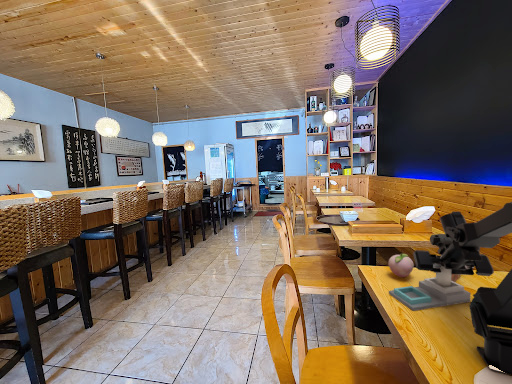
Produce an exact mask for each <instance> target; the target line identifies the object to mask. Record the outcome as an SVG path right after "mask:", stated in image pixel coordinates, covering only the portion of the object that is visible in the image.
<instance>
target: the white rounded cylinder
mask: <svg viewBox="0 0 512 384" xmlns="http://www.w3.org/2000/svg"><path fill="white" fill-rule="evenodd" d="M440 270H441V272H440V273H435V277H436V284H438V285H440V286H442V287H444V288H446V287H451V271H452V269H445V267H441V268H440Z"/></svg>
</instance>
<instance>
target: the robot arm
mask: <svg viewBox="0 0 512 384" xmlns="http://www.w3.org/2000/svg"><path fill="white" fill-rule="evenodd" d="M439 221H440V224H441V226H442V229H443V231H444V233H436V234H431V235H430V237H429V242H430V244H431V246H436V247H438V249H437V253H438V255H437V254H432V253H431V252H430V251H428V250H423V249H422V250H419V249H415V250H414V251H413V260H414V265H415V267H416V269H417V270H419V271H427V272H429V271H430V272H432V273H433V274H436V273H440V272H441V270H440V268H441V267H445V269H452V271H451V274H457V275H460V276H461V275H463V276H475V275H477V276H480V277H481V276H482V277H483V276H484V277H490V276H492V275H493V274H494V271H495V270H494V267H493V265H492V263H491V261H490V259H489V257H488V255H486V254H483V253H480V252H481V248H484V249H493V248H494V247H496V246H497V245H499V244H500V243H501V239H500V238H502V237H504V236H507V235H510V234H512V201H510V202H506V203H504V205H503V207H502V208H500V209H498V210H496V211H495V212H492V213H490V214H489V215H487V216H485V217H484V218H482V219H480V220H478V221H475V222H467V221H466V218H465V216H464V215H463V214H462V212H461V211H451V212H450V213H447V214H444V215H442V216H440V217H439ZM474 268H475V273H474ZM472 296H473V298H472V300H471V301H470V302H469V310H470V318H471V323H472V327H473V328H474V333H475V334H477V335H479V336H480V337H482V338H483V347H482V346H479V345H478V346H476V350H477V352H478V353H479V355H480V356H481V358H482V360H483V359H484V360H483V361H484V363H485V364H486V366H487V367H488V366H489V365H492V366H494V367H496V368H498V369H499V370H501V371H503V372H505V373H507V374H506V375H508V374H509V376H512V268H511V269H510V270H509V271H508V273H506V275H505V277H504V278H503V279H502V280H501V282H500V283H499V284H498V286H497V287H486V286H480V287H478V288H477V289H476V292H475V293H473V294H472ZM505 373H504V374H505Z"/></svg>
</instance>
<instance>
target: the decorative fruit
mask: <svg viewBox="0 0 512 384" xmlns="http://www.w3.org/2000/svg"><path fill="white" fill-rule="evenodd" d="M387 263H388V267H389V269H390V271H391V272H392V273H393V274H395V275H396V276H397V277H400V278H406V277H408V276H409V275H410V274H411V273H412V271H413V270H414V268H415V267H414V266H415V263H414V262H413V260H412V258H410V257H409V255H408V254H406V253H402V252H401V253H400V254H395V255H394V254H393V255H392V256H391V257H390V258H389V259H388V262H387Z"/></svg>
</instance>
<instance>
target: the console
mask: <svg viewBox="0 0 512 384" xmlns="http://www.w3.org/2000/svg"><path fill="white" fill-rule="evenodd" d="M388 294H389V295H390V296H391V297H393V298H394V299H395V300H398V302H400V303H402V304H403V305H404V306H405V307H406V308H408V309H410V310H411V311H413V312H414V311H415V312H416V311H420V310H427V309H434V308H439V307H445V306H451V305H452V306H453V305H458V304H459V305H460V304H464V303H471V292H469V291H468V290H465V286H464V285H462V284H460V283H457V282H453V281H451V287H446V288H444V287H442V286H440V285H438V284H436V276H435V277H428V278H424V280H419V281H418V286H413V285H410V286H403V287H396V288H393V289H392V290H388Z"/></svg>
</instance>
